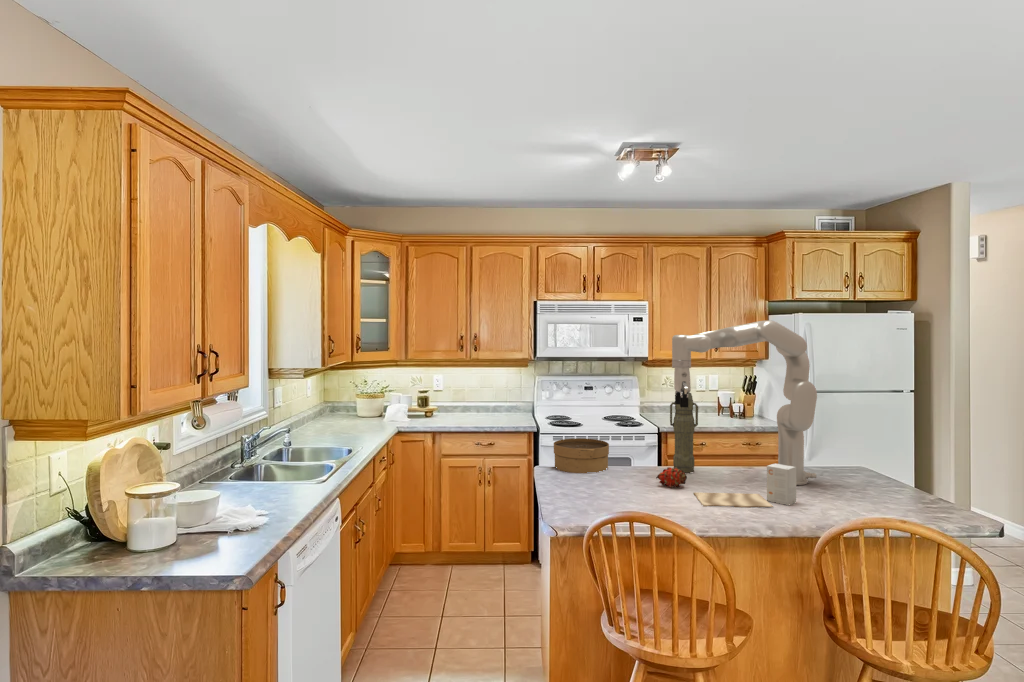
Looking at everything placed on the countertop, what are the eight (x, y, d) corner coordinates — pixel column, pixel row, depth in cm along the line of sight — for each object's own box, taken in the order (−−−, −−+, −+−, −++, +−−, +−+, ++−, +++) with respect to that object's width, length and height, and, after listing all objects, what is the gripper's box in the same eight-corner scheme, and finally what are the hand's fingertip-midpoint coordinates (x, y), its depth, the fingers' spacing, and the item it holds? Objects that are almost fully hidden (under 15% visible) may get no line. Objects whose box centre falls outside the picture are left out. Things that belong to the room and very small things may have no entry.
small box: (796, 502, 217) (796, 466, 216) (788, 506, 213) (788, 469, 212) (774, 497, 223) (775, 463, 223) (766, 501, 219) (766, 465, 219)
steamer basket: (605, 475, 258) (604, 449, 258) (548, 472, 266) (548, 446, 266) (612, 463, 282) (612, 439, 282) (560, 460, 289) (560, 437, 289)
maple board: (758, 495, 226) (758, 493, 226) (773, 507, 210) (773, 506, 210) (693, 494, 228) (693, 492, 228) (703, 506, 213) (703, 504, 213)
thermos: (699, 473, 260) (699, 393, 259) (671, 473, 261) (671, 393, 261) (695, 469, 269) (696, 391, 268) (668, 468, 270) (669, 390, 269)
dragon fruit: (689, 492, 237) (658, 494, 240) (687, 475, 243) (656, 478, 246) (687, 478, 232) (655, 480, 235) (684, 461, 239) (654, 464, 242)
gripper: (695, 365, 240) (695, 408, 240) (686, 363, 257) (686, 403, 258) (676, 365, 240) (676, 408, 241) (668, 363, 258) (668, 403, 258)
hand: (681, 405), depth 249 cm, fingers open, 9 cm apart
